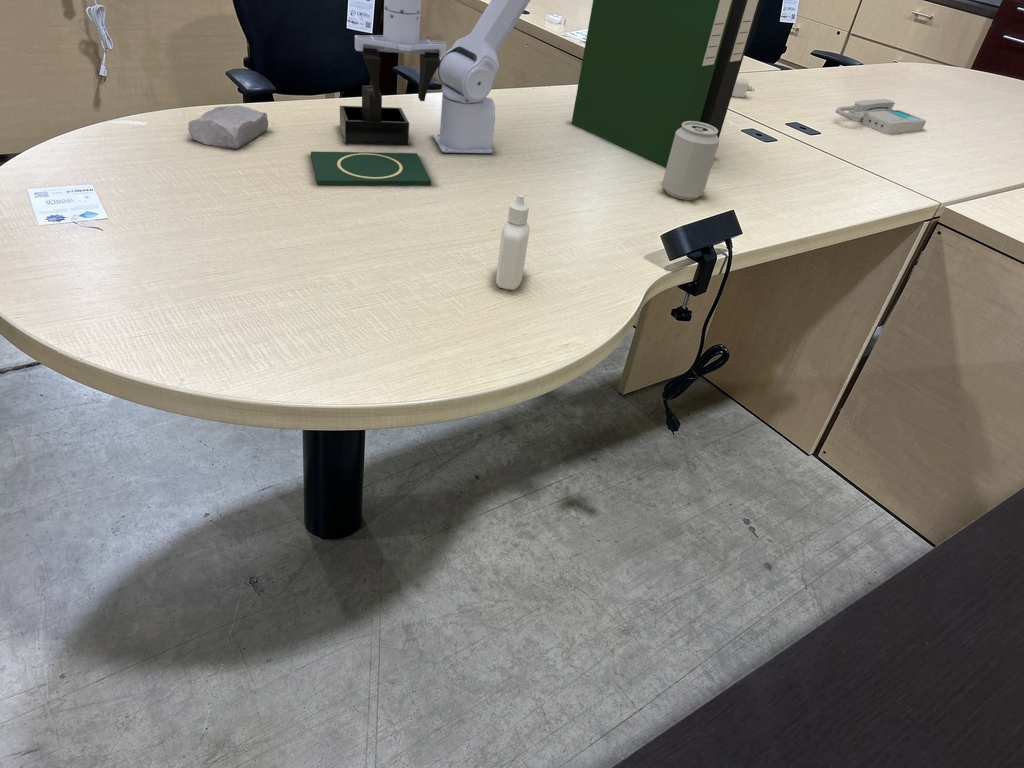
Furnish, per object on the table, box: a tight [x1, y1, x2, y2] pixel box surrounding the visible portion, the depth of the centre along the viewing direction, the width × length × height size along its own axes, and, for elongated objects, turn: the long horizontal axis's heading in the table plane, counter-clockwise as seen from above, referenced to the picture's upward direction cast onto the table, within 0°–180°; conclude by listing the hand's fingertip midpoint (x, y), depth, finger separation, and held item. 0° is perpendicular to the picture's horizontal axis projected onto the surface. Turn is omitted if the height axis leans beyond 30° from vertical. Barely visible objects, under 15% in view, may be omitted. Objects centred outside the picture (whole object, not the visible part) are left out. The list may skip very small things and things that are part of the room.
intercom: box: [835, 98, 927, 135], centre depth 184 cm, size 13×4×25 cm
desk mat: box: [310, 150, 432, 186], centre depth 121 cm, size 18×12×1 cm, turn 107°
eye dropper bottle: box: [495, 194, 530, 291], centre depth 94 cm, size 4×6×12 cm
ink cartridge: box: [361, 85, 383, 121], centre depth 131 cm, size 5×2×8 cm, turn 24°
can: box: [661, 121, 720, 201], centre depth 128 cm, size 8×8×12 cm
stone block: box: [187, 104, 269, 150], centre depth 125 cm, size 12×5×10 cm
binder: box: [571, 0, 761, 168], centre depth 142 cm, size 27×15×32 cm, turn 43°
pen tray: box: [339, 105, 410, 146], centre depth 133 cm, size 11×8×4 cm
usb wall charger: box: [731, 77, 756, 99], centre depth 190 cm, size 4×7×4 cm, turn 96°
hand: (398, 98), depth 123 cm, fingers open, 7 cm apart
